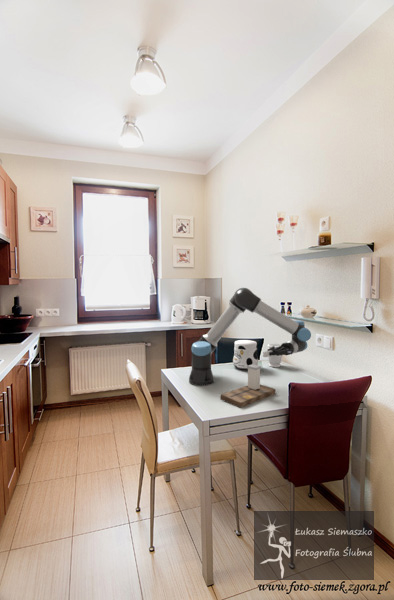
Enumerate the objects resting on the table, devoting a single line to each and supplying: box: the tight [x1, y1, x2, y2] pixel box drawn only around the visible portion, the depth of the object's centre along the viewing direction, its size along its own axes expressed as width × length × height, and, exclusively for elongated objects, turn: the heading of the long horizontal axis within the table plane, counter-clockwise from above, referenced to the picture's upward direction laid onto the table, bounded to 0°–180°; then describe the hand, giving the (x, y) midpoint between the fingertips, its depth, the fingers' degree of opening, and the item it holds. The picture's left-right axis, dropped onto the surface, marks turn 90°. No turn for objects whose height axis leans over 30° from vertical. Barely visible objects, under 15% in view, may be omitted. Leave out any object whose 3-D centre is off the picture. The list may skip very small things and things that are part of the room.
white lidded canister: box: [247, 364, 262, 390], centre depth 172 cm, size 5×6×12 cm
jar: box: [267, 343, 283, 368], centre depth 225 cm, size 11×10×15 cm
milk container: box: [232, 339, 259, 370], centre depth 221 cm, size 17×17×18 cm
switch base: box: [219, 383, 277, 408], centre depth 168 cm, size 28×14×3 cm, turn 130°
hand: (264, 354), depth 177 cm, fingers closed
